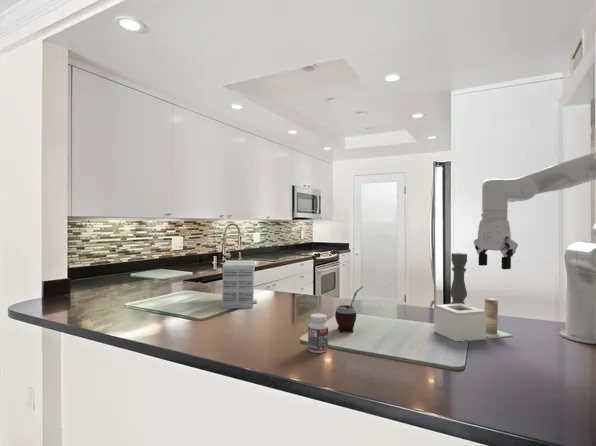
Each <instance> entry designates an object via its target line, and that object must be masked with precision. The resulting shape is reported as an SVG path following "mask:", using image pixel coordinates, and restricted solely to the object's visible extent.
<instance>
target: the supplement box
mask: <svg viewBox="0 0 596 446" xmlns="http://www.w3.org/2000/svg"><path fill="white" fill-rule="evenodd" d="M254 289H255V260H243V259H242V260H241V259H239V260H235V259H234V260H233V259H232V260H231V259H230V260H228V259H227V260H225V262H224V263H223V265H222V290H221V291H222V294H221V295H222V299H221V300H222V301H221V308H222V309H253V308H254V300H255V299H254V298H255V297H254V294H255V292H254V291H255V290H254Z"/></svg>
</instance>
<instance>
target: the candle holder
mask: <svg viewBox="0 0 596 446" xmlns="http://www.w3.org/2000/svg"><path fill="white" fill-rule="evenodd" d="M450 261H451V263H452V266H453V267H451V271H452V272H453V280H452V283H451V286H450V287H451V288H450V292H449V293H450V297H451V299H452V301H451V302H450V304H459V303H462V304H465V305H467V304H466V302H465V299H466V298H467V295H468V292H467V287H466V282H465V274H466V273H465V272H466V271H467V268H466V265H467V263H468V253H465V252H451V260H450Z"/></svg>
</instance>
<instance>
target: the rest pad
mask: <svg viewBox="0 0 596 446" xmlns="http://www.w3.org/2000/svg"><path fill="white" fill-rule="evenodd" d="M510 337H513V334H511V333H508V332H505V331H501V330H499V329H497V334H489V333H486V338H488V339H500V338H501V339H502V338H510Z"/></svg>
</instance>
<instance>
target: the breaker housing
mask: <svg viewBox="0 0 596 446" xmlns="http://www.w3.org/2000/svg"><path fill="white" fill-rule="evenodd" d="M465 304H466V303H465ZM465 304H462V303H459V304H451V303H446V304H445V303H444V304H434V315H433V316H434V319H433V320H434V323H433V325H434V326H433V328H434V329H433V332H435V333H437V334H439V335H441V336H443V337H445V336H446V337H445V338H447V337H448V339H450V340H452V339H453V340H452V341H454V340H455V341H454V342H456V341H462V340H468V341H467V342H469V341H470V342H471V341H481V340H486V339H487V337H486V311H484V310H483V309H480V308H477V307H474V306H471V305H468V304H466V305H465ZM462 342H463V341H462Z"/></svg>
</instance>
